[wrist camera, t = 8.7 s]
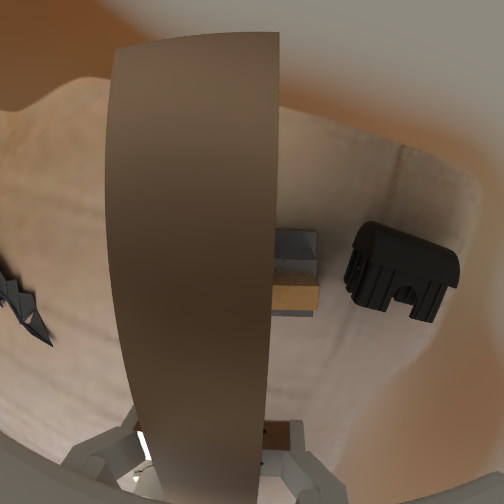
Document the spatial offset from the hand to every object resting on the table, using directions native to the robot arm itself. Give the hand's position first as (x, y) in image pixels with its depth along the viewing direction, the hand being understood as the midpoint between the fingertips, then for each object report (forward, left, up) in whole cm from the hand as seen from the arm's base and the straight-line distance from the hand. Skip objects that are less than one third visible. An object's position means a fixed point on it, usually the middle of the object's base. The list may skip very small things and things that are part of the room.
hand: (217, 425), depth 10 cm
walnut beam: (0, 0, -2) cm, 2 cm away
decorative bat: (-4, +42, -22) cm, 47 cm away
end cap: (+1, -14, -22) cm, 26 cm away
